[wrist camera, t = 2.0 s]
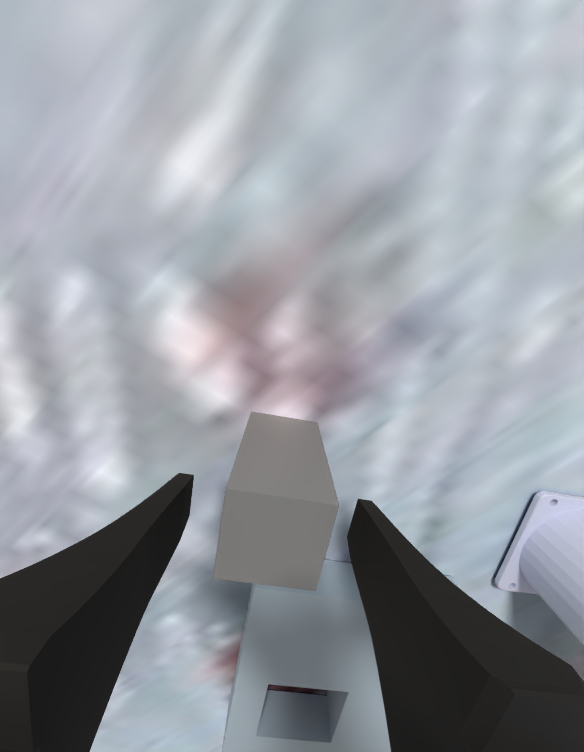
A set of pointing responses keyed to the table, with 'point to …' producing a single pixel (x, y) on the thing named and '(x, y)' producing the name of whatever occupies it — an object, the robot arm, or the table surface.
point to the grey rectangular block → (277, 506)
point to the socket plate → (307, 671)
